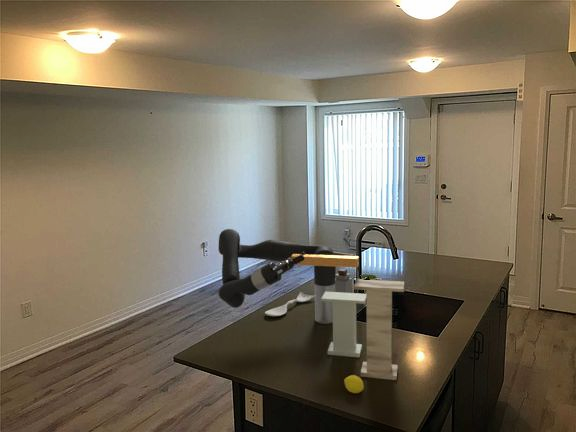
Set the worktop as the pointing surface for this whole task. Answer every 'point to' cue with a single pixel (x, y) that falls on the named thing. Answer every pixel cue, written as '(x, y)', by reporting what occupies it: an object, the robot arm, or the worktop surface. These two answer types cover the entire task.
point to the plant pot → (371, 277)
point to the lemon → (354, 384)
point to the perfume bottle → (343, 282)
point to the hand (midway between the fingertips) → (304, 255)
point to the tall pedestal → (379, 327)
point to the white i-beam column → (344, 323)
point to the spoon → (283, 309)
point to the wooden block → (328, 260)
